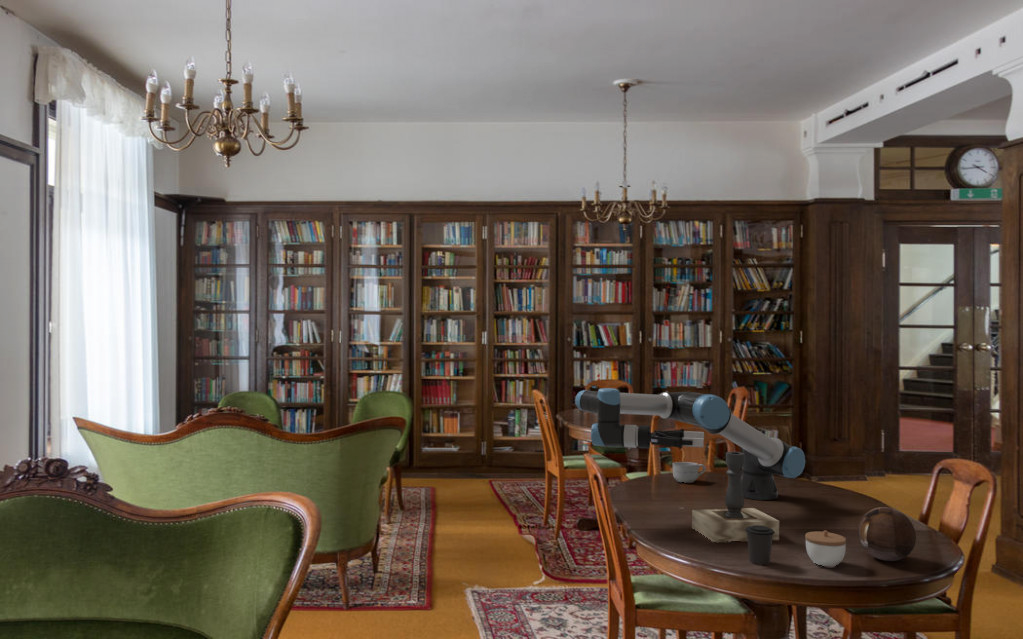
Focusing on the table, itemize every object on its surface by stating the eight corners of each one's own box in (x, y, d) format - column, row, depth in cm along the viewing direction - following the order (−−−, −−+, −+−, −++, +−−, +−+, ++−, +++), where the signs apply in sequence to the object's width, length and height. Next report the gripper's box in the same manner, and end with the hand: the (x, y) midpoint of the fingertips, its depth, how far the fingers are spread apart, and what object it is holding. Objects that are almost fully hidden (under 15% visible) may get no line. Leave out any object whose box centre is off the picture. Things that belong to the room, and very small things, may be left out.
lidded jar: (803, 556, 215) (803, 524, 215) (843, 560, 212) (843, 527, 212) (806, 567, 205) (807, 534, 205) (848, 572, 202) (849, 538, 202)
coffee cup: (739, 561, 209) (739, 526, 209) (752, 555, 215) (752, 521, 215) (767, 568, 204) (767, 532, 204) (779, 562, 210) (779, 527, 210)
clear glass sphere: (906, 554, 219) (907, 503, 219) (922, 570, 204) (923, 516, 204) (852, 549, 222) (853, 500, 222) (864, 565, 207) (865, 512, 207)
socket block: (753, 525, 247) (753, 507, 247) (778, 539, 231) (779, 520, 231) (691, 528, 243) (692, 509, 243) (713, 542, 227) (713, 522, 227)
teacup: (672, 483, 310) (673, 464, 310) (671, 478, 320) (671, 460, 320) (706, 485, 307) (707, 466, 307) (704, 480, 318) (704, 461, 318)
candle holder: (741, 534, 233) (742, 455, 233) (721, 531, 236) (722, 453, 236) (746, 530, 238) (747, 452, 238) (727, 526, 241) (728, 450, 241)
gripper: (641, 441, 257) (704, 444, 252) (634, 454, 233) (703, 458, 227) (641, 420, 257) (704, 422, 251) (634, 431, 233) (703, 433, 227)
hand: (703, 439), depth 239 cm, fingers open, 13 cm apart
